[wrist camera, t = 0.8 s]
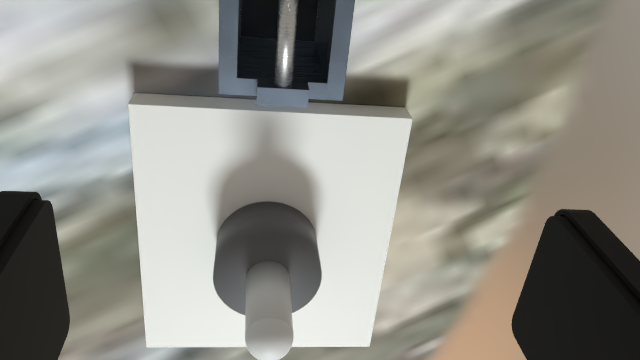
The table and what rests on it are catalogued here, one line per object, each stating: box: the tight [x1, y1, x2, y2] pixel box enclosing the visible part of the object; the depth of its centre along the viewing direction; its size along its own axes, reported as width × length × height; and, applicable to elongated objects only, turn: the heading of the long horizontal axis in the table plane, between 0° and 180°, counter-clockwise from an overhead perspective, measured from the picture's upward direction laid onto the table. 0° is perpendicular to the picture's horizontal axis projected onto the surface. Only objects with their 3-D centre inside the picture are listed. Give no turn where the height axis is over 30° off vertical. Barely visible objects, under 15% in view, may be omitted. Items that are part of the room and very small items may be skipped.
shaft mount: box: [128, 93, 412, 360], centre depth 29 cm, size 16×14×10 cm
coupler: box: [219, 0, 355, 107], centre depth 24 cm, size 5×5×7 cm
